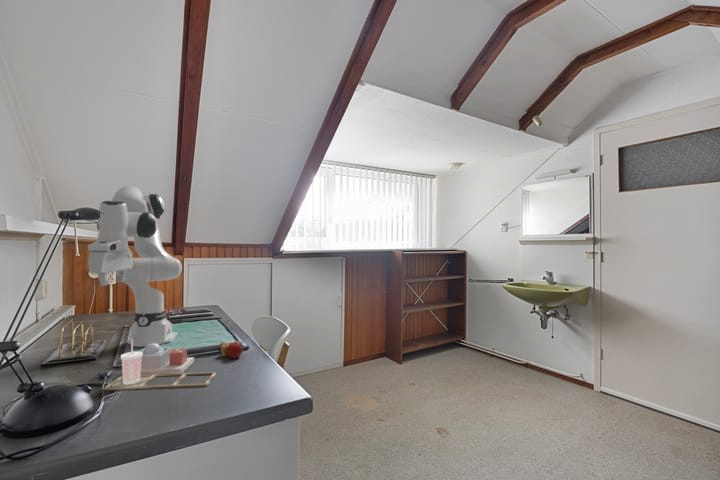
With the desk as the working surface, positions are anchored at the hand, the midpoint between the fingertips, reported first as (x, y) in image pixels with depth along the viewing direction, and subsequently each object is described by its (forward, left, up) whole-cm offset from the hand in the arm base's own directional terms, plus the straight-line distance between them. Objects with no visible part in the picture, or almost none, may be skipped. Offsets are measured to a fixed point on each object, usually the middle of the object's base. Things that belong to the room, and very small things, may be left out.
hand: (112, 284), depth 122 cm
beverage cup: (+12, +13, -31) cm, 36 cm away
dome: (-1, +13, -29) cm, 32 cm away
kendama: (-15, +37, -31) cm, 51 cm away
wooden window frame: (+12, +23, -31) cm, 40 cm away
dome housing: (-1, +17, -31) cm, 35 cm away
